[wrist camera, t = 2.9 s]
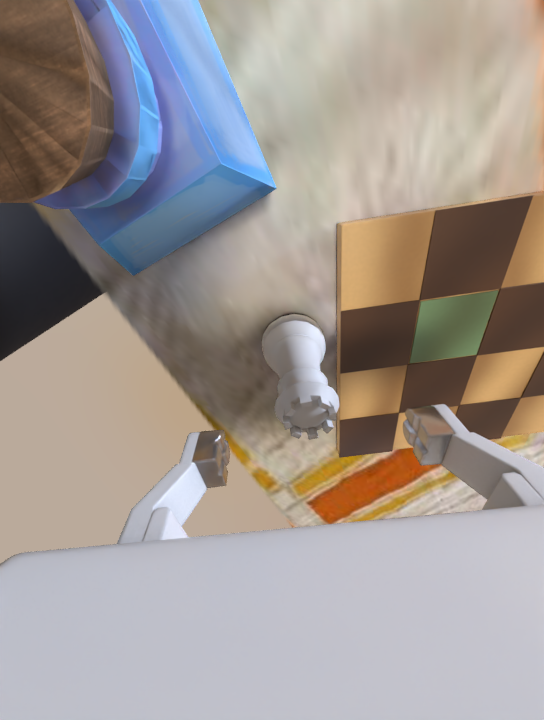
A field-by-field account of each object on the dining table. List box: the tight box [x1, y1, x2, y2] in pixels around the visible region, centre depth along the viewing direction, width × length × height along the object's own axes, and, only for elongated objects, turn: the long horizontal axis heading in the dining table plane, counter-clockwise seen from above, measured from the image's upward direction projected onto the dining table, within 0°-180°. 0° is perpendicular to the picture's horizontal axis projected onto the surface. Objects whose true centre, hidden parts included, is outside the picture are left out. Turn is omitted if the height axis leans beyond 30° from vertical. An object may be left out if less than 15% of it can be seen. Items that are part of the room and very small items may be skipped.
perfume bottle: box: [0, 0, 277, 276], centre depth 8 cm, size 6×6×12 cm
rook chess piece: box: [262, 314, 339, 439], centre depth 16 cm, size 4×4×8 cm
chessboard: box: [337, 191, 544, 457], centre depth 19 cm, size 20×20×1 cm
